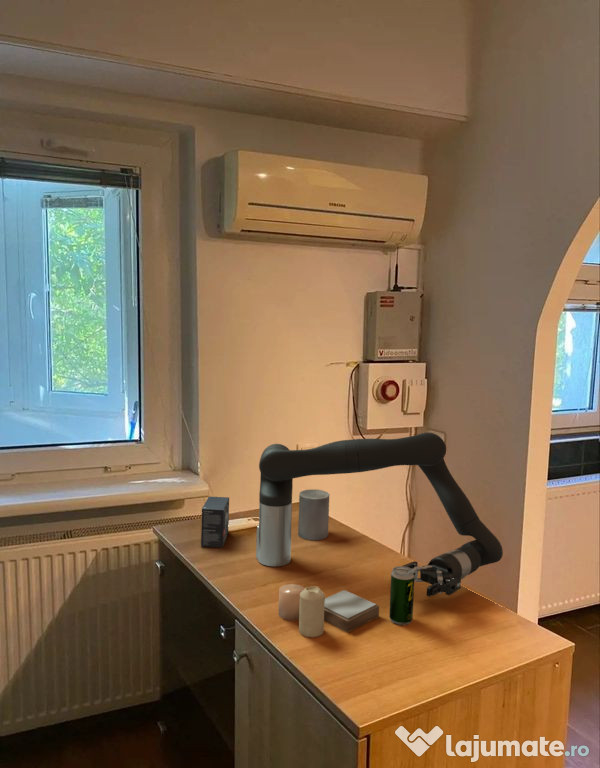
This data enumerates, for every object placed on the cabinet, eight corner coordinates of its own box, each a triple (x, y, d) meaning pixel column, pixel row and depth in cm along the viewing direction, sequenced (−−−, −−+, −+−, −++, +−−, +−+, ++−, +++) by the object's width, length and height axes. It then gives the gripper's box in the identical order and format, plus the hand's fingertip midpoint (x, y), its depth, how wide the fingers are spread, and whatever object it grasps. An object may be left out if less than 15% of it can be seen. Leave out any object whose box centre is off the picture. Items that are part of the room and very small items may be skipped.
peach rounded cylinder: (273, 613, 144) (273, 589, 143) (291, 605, 148) (292, 581, 147) (290, 623, 139) (291, 598, 139) (309, 614, 144) (310, 590, 143)
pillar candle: (296, 529, 200) (297, 485, 198) (326, 529, 201) (327, 485, 199) (299, 541, 190) (300, 494, 189) (330, 540, 191) (332, 494, 190)
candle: (315, 640, 132) (317, 596, 131) (294, 632, 135) (295, 589, 134) (328, 629, 137) (329, 587, 136) (307, 622, 140) (308, 580, 139)
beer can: (387, 623, 140) (389, 573, 139) (391, 612, 145) (393, 564, 144) (410, 627, 139) (413, 577, 137) (413, 616, 144) (416, 567, 142)
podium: (312, 614, 144) (312, 602, 143) (343, 600, 151) (344, 588, 151) (347, 632, 136) (348, 619, 136) (378, 616, 144) (379, 604, 143)
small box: (223, 548, 183) (223, 509, 182) (200, 547, 183) (200, 508, 182) (229, 532, 196) (229, 496, 195) (207, 532, 196) (208, 495, 195)
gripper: (427, 545, 160) (389, 561, 149) (476, 562, 150) (439, 580, 139) (425, 573, 161) (387, 591, 150) (474, 591, 151) (437, 612, 140)
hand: (412, 586), depth 144 cm, fingers open, 8 cm apart
